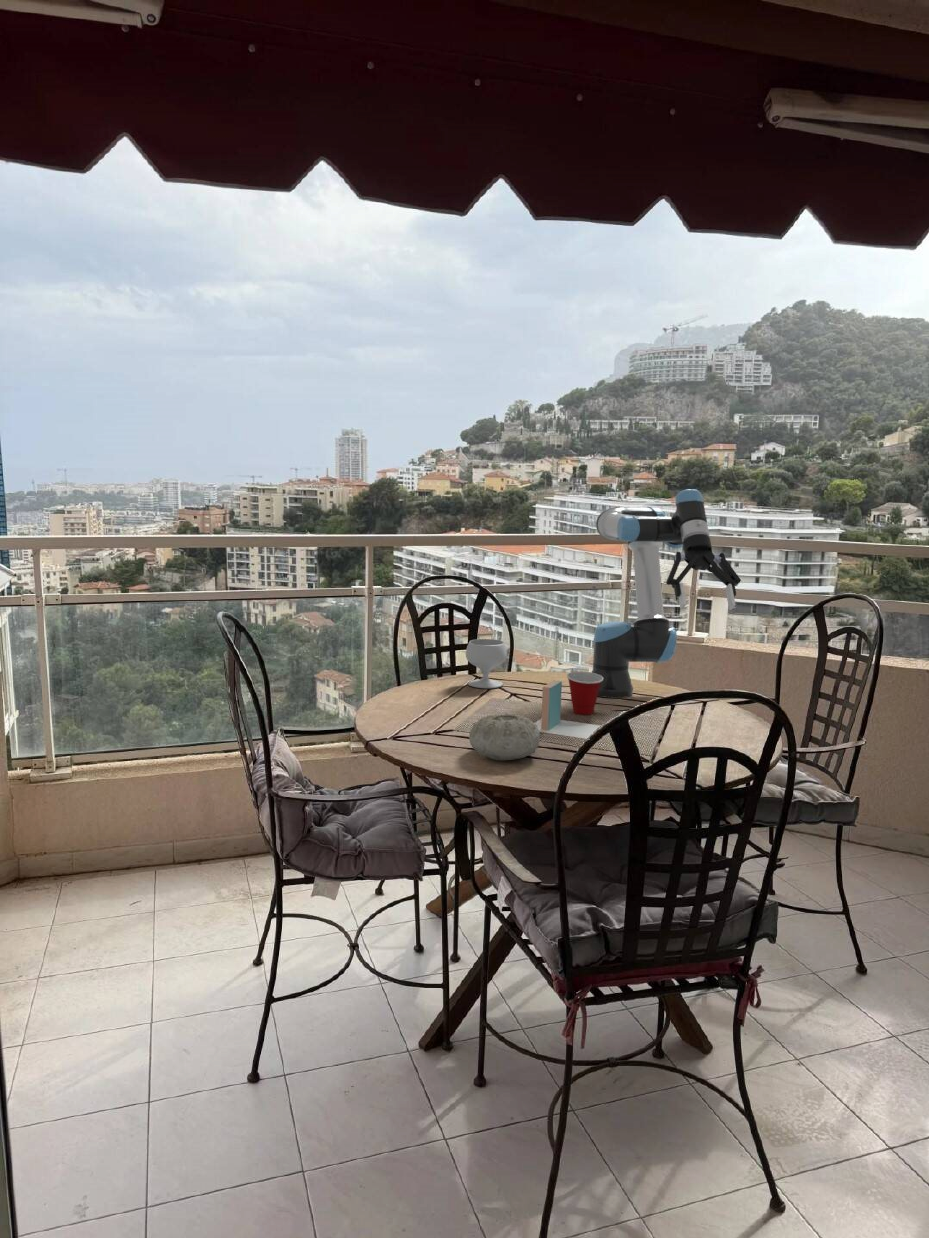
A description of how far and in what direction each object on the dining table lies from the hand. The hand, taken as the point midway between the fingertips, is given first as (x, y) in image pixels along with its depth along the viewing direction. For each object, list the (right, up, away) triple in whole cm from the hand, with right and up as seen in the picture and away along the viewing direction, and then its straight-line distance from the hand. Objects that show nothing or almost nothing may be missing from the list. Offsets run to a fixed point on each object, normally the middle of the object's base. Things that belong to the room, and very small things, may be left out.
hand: (708, 607), depth 220 cm
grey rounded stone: (-56, -38, -14) cm, 69 cm away
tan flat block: (-41, -33, +10) cm, 54 cm away
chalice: (-58, -26, +59) cm, 87 cm away
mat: (-37, -34, +8) cm, 51 cm away
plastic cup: (-30, -32, +24) cm, 50 cm away
